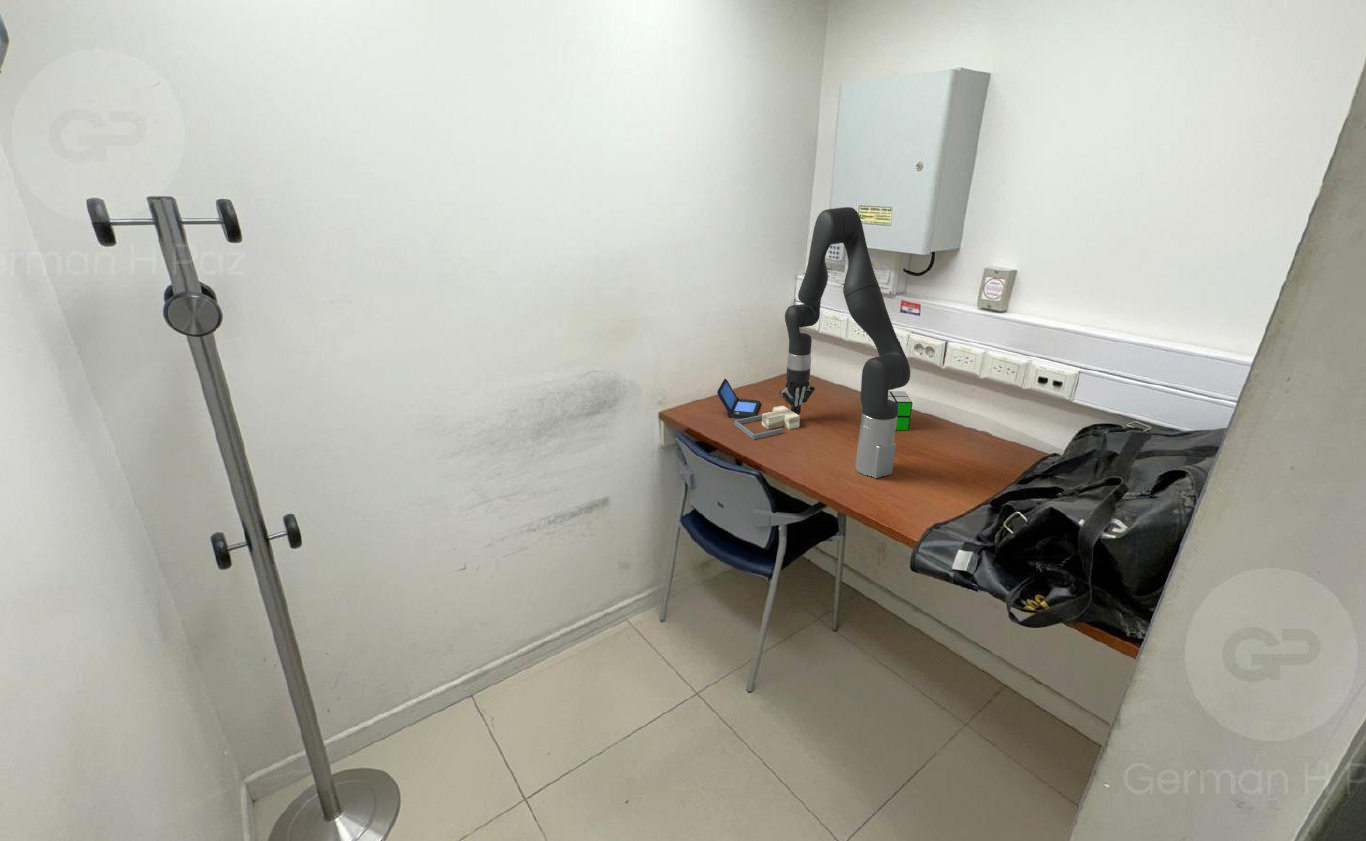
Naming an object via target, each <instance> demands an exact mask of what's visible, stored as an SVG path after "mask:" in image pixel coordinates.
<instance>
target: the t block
mask: <svg viewBox="0 0 1366 841" xmlns="http://www.w3.org/2000/svg"><path fill="white" fill-rule="evenodd" d="M761 415H762V420H761V426H763V427H764V428H765V429H767V430H771V429H772V430H773V429H775V428H777V429H778V428H782V427H785V428H786V429H787V430H792V429H797V428H800V422H801V421H800V420H801V415H800V414H799V415H798V414H796V413H794V412H793V411H791V409H789V408H787V406H785V405H779V406H773V407H772V411H769V412H765V413H762V414H761Z"/></svg>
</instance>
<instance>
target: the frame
mask: <svg viewBox="0 0 1366 841" xmlns="http://www.w3.org/2000/svg"><path fill="white" fill-rule="evenodd" d="M758 421H762V414H759V415H756V416H754V417H749V418H738V419H736V420H733V426H735V427H736V428H737V429H738V430H740V431H742V432H743V433H745V434H746V435H747V436H748V437H750V438H751V439H752V440H754V441H755V440H759V439H763V438H767V437H771V436H776V435H780V434H784V428H782V427H780V428H777V429H772V430H767V431H763V432H762V431H761V432H759V433H753V432H752V431H751V430H749V429H748V428H747V427H745V426H744V425H743V424H748V423H753V422H758Z"/></svg>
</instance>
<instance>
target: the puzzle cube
mask: <svg viewBox="0 0 1366 841" xmlns="http://www.w3.org/2000/svg"><path fill="white" fill-rule="evenodd" d="M888 399H889V400H892V401H894V402H895V403H897V405H898V408H899V409H898V416H897V423H896V430H895V431H905V432H906V431H909V429H910V423H911V415H912V408H913V401H912V400H911V399H910V397H909V395H908V394H907V393H906V391H903V390H902V391H901V390H899V391H898V390H888Z"/></svg>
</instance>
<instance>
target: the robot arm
mask: <svg viewBox="0 0 1366 841" xmlns="http://www.w3.org/2000/svg"><path fill="white" fill-rule="evenodd" d="M838 244H842V245H843V246H844V248H845V249H844V250H845V251H846V255H847V262H848V263H847V268H846V269H847V270H846V272H845V277H844V281H843V290H842V293H843V296H844V300H845V304H846V306H847V310H848V312H849V315H850V317H851V318H852V319H853V321H854V322H855V324H857V325H858V326H859V328H861V330H863V331H864V332H865V333H866V334H867V335H868V337H869V338H870V339H871V340H872V342H873V344H874V346H875V348H876V351H877V354H878V356H875V357H871V358H869V359H868V360H866V362H865V363H864V365H863V367H862V373H861V381H860V382H861V384H860V386H861V387H860V403H861V408H862V409H861V417H860V426H859V432H858V434H859V435H858V442H857V450H856V451H857V452H856V458H855V470H856V471H857V472H858V473H860V474H861V475H864V476H867V475H868V476H867V477H871V476H872V477H871V478H873V477H874V478H873V479H878V478H882V476H883V477H887V476H890V475H892V474H893V470H894V464H895V457H896V451H897V442H895V435H896V431H897V430H896V423H897V416H898V409H899V408H898V405H897V403H895V402H894V401H892V400H889V399H888V391H893V390H896V389H899V388H902V387H904V386H906V385H907V384H908V383H909V381H910V380H911V368H910V363H909V361H908V358H907V356H906V353H905V351H904V349H903V346H902V345H901V343H900V340H899V338H898V336H897V333H896V331H895V329H894V326H893V323H892V321H891V318H890V315H889V312H888V310H887V307H886V306H887V305H886V303H885V300H884V296H883V293H882V290H881V287H880V283H879V282H878V280H877V276H876V274H875V271H874V267H873V264H872V260H871V258H870V257H871V256H870V253H869V249H868V246H867V242H866V235H865V231H864V227H863V223H862V219H861V217H860V215H859V213H858V211H857V210H856V208H853V207H850V206H847V207H845V206H844V207H836V208H828V209H824V210H822V211H821V212H820V213H819V214H818V216H817V217H816V220H815V223H814V228H813V232H812V238H811V243H810V248H809V253H808V254H809V256H808V261H807V266H806V269H805V273H804V276H803V279H802V281H801V284H800V286H799V287H800V288H799V290H798V292H797V293H798V294H797V299H798V300H799V302H801V304H793V305H790V306H788V307H787V308H786V310H785V313H784V321H785V322H784V323H785V325H786V329H787V335H788V336H787V337H788V352H787V353H788V354H787V362H786V376H785V377H786V384H785V388H784V389H783V390H782V389H781V390H779V391H778V392H779V395H780V396H781V397H782V398H783V400H784V402H786V404H788V405H790V406H791V407H790V410H791V411H793V412H794V413H796V414H798V415H799V416H800V414H801V412H802V411H801V409H802V405H803V404H804V403H807V402H808V400H809V399H810V397H811V396H812V394H813V393H814V391H815V389H816V387H814V386H813V385H811V384H810V379H811V378H810V377H811V364H812V354H811V352H812V342H813V340H812V335H810V334H808V333H805V332H801V331H800V328H804V327H805V328H806V327H813V326H814V325H816V324H817V323H818V321H820V320H819V319H820V316H821V304H822V303H821V302H822V297H823V295H824V292H825V291H826V288H827V285H828V281H829V273H828V268H827V264H826V255H827V253H828V251H829V248H830V246H831V245H838Z"/></svg>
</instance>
